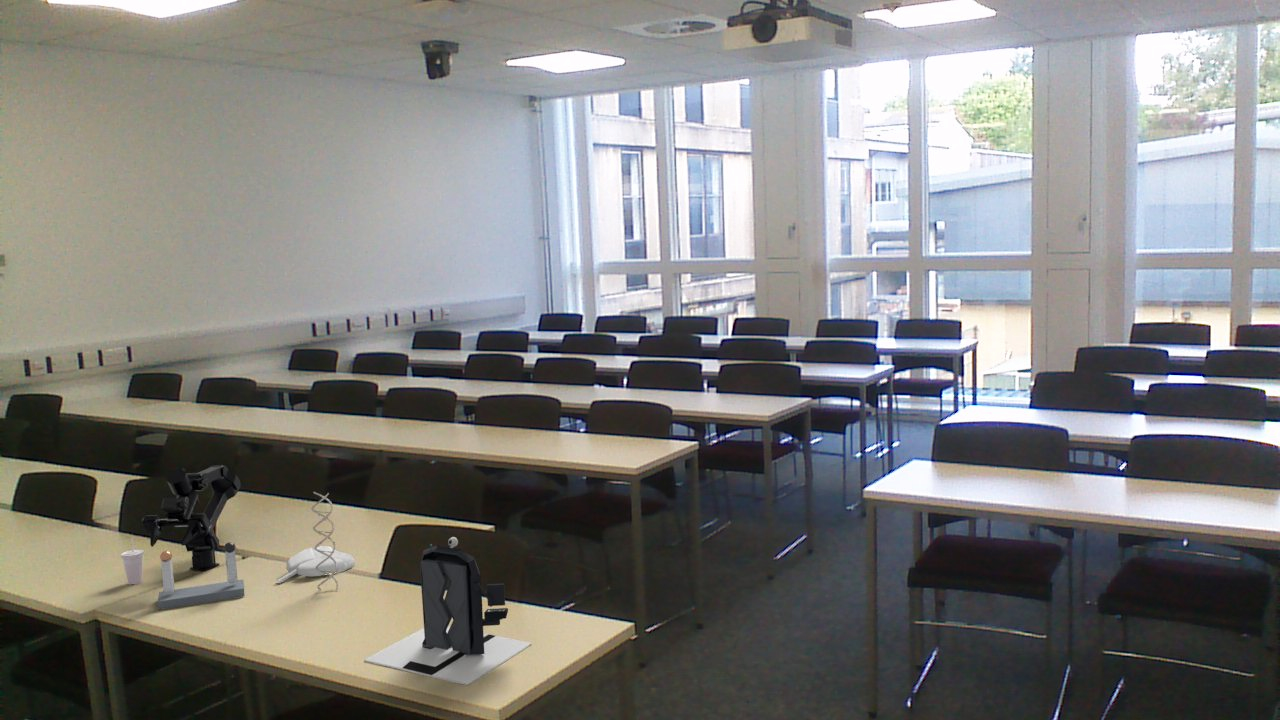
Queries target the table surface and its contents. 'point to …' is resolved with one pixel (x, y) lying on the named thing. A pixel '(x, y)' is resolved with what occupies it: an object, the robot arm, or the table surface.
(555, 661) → the table surface
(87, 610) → the table surface
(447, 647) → the slab on white base
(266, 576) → the table surface
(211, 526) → the robot arm
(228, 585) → the switch board
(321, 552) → the dna model
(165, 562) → the copper knob rod
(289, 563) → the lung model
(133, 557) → the smoothie
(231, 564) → the beige grey bar
